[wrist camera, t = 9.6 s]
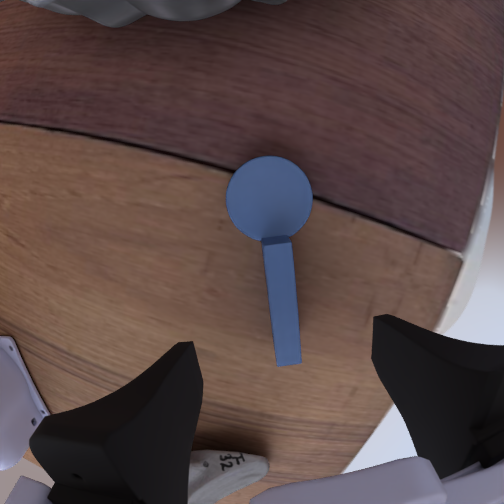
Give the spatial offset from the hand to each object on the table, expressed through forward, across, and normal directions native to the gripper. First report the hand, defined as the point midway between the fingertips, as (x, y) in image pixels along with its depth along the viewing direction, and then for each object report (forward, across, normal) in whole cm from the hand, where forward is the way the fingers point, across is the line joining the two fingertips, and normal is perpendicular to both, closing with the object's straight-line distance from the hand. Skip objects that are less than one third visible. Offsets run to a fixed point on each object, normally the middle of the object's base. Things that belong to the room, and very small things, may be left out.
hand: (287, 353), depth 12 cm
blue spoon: (+7, 0, -2) cm, 8 cm away
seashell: (+7, +8, +16) cm, 19 cm away
